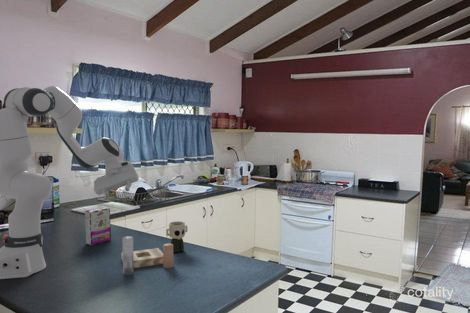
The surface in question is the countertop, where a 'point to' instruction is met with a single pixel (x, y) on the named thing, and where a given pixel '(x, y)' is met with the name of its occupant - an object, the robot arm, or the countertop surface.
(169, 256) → the terracotta pin
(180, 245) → the character mug
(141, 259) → the hole plate
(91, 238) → the candy bar box
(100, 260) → the countertop surface
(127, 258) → the steel pin
